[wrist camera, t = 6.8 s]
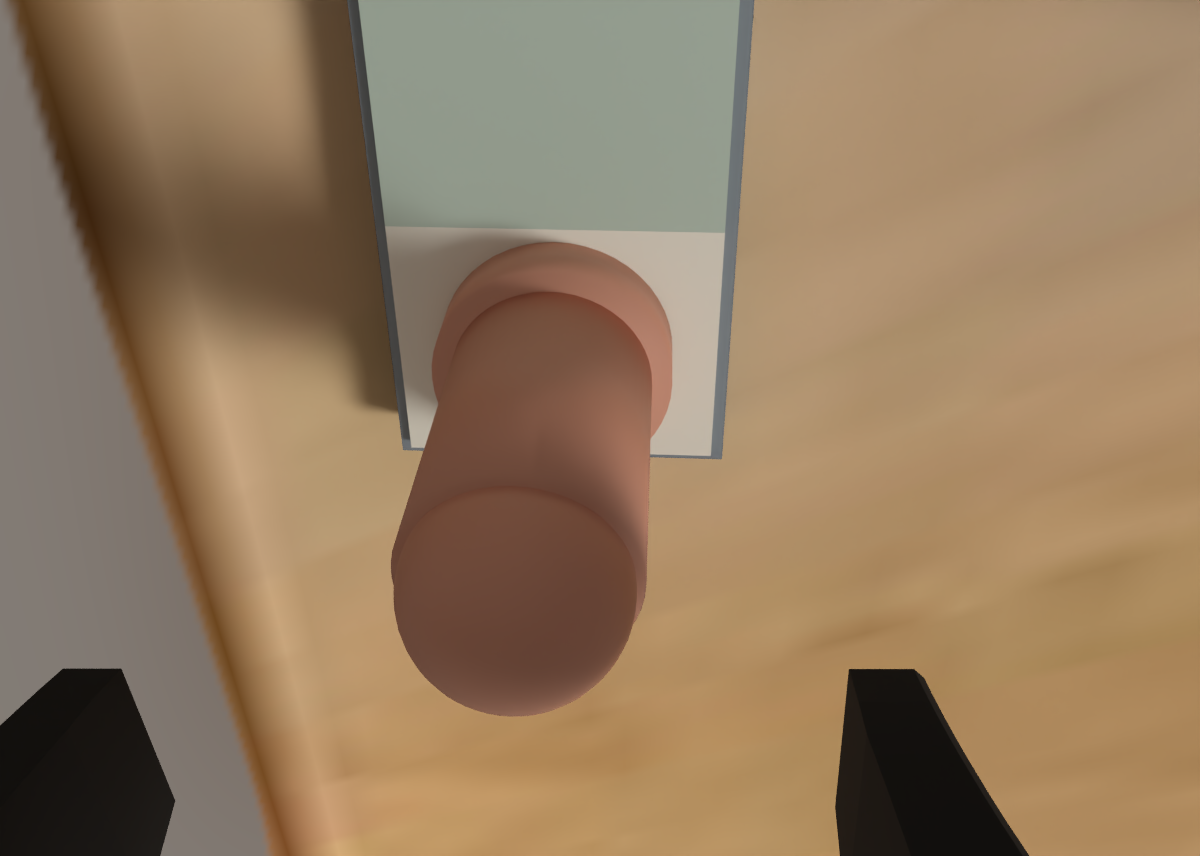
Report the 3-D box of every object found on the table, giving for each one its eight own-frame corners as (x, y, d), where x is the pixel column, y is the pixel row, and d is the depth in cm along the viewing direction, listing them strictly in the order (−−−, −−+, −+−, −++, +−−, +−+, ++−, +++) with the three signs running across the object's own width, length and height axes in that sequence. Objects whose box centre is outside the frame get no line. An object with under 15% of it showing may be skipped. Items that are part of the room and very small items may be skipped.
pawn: (668, 444, 19) (666, 798, 13) (452, 438, 19) (354, 785, 13) (676, 244, 17) (678, 558, 11) (433, 239, 17) (307, 546, 11)
